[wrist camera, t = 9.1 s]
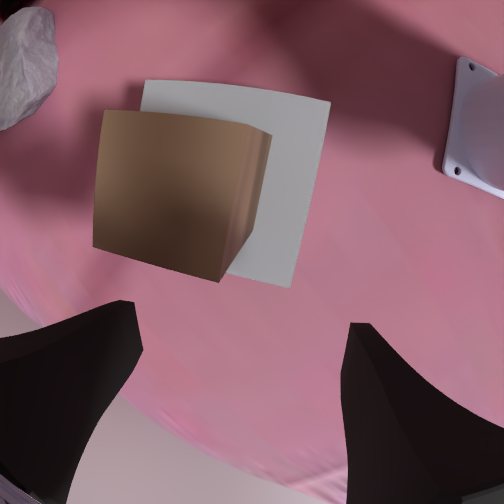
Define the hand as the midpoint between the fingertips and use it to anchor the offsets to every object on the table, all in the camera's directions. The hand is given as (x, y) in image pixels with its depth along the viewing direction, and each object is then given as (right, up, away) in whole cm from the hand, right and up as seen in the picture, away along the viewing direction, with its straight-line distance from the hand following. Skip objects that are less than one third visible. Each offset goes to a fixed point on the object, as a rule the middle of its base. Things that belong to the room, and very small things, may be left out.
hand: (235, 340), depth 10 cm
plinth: (0, +7, +8) cm, 11 cm away
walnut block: (-1, +6, +4) cm, 8 cm away
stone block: (-20, +18, +9) cm, 29 cm away
